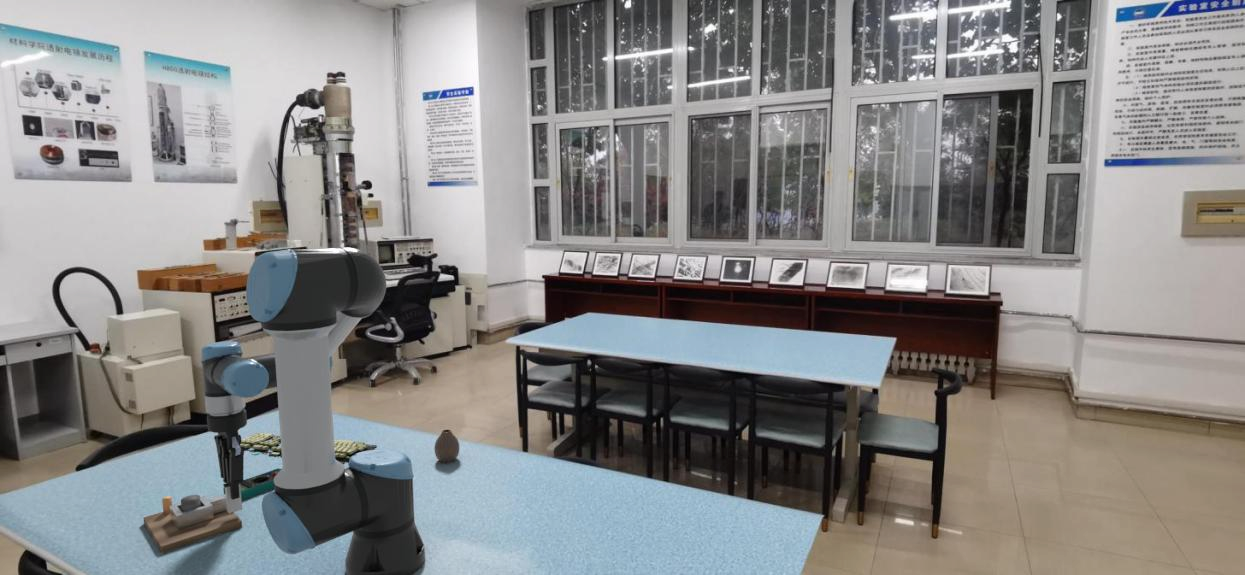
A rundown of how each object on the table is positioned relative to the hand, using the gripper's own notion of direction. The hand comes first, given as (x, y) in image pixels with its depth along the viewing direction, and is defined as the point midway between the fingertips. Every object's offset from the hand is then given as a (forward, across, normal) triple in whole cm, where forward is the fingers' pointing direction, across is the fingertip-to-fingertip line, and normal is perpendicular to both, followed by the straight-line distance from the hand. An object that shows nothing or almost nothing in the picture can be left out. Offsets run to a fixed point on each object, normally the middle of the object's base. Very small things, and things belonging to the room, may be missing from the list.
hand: (234, 510), depth 143 cm
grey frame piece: (+2, +6, +4) cm, 7 cm away
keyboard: (+4, +37, -27) cm, 46 cm away
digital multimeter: (+4, +16, -10) cm, 19 cm away
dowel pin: (+2, +14, +10) cm, 17 cm away
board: (+3, +6, +7) cm, 10 cm away
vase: (+3, -4, -53) cm, 53 cm away
